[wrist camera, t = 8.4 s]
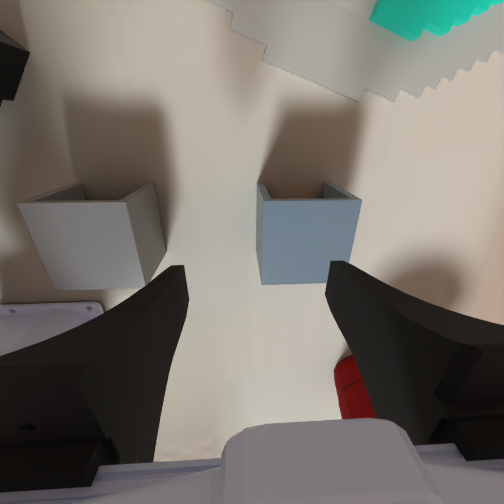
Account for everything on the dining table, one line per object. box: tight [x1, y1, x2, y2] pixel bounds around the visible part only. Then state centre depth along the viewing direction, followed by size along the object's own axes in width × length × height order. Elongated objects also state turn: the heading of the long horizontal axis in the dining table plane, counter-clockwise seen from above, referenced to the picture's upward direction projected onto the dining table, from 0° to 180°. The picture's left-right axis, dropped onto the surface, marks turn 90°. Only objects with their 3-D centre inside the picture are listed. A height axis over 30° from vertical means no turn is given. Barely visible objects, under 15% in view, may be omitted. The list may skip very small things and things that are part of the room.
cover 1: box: [16, 183, 166, 291], centre depth 18 cm, size 6×6×6 cm
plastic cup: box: [334, 356, 376, 419], centre depth 25 cm, size 11×11×12 cm
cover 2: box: [256, 182, 362, 285], centre depth 18 cm, size 6×6×6 cm
